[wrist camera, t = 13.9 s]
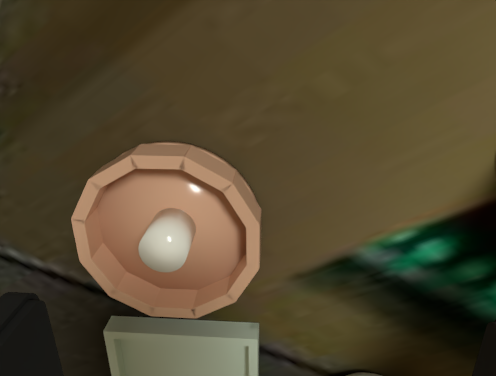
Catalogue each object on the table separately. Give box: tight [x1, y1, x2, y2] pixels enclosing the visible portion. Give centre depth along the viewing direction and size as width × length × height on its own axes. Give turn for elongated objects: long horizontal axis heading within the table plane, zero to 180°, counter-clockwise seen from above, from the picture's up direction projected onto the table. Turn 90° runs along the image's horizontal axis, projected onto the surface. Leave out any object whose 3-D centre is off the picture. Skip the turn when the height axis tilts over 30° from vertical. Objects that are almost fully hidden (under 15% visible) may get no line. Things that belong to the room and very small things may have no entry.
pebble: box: [138, 208, 196, 272], centre depth 40 cm, size 4×4×4 cm
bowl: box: [71, 141, 262, 318], centre depth 41 cm, size 17×17×4 cm
